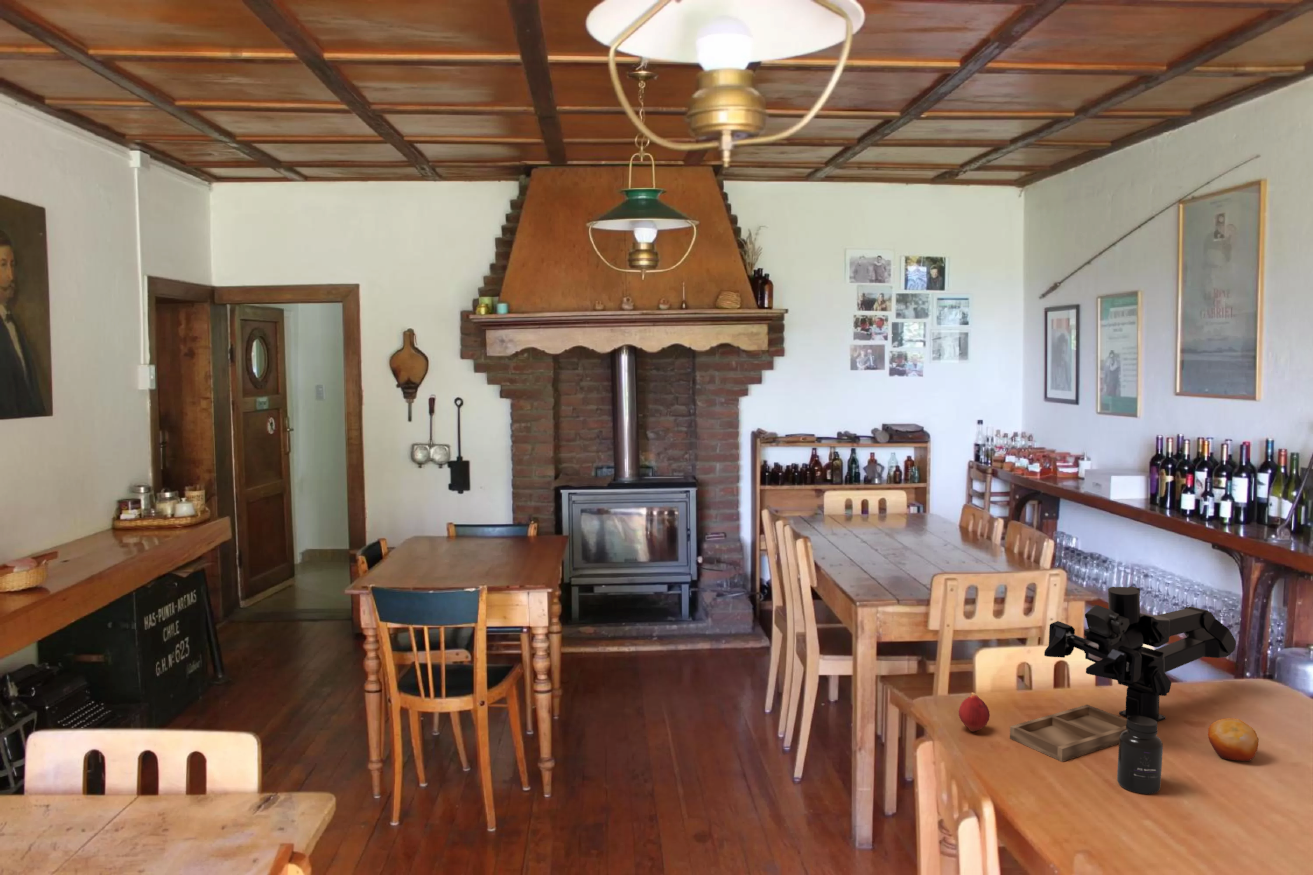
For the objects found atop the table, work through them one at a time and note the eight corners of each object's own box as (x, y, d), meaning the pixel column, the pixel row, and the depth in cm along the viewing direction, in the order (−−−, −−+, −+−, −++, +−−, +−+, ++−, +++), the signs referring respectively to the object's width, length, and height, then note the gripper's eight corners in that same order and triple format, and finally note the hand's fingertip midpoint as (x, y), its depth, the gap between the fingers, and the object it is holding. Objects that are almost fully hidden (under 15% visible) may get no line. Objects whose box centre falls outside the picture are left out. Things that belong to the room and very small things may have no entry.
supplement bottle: (1144, 798, 157) (1147, 730, 156) (1108, 782, 163) (1110, 716, 162) (1169, 789, 160) (1172, 723, 159) (1133, 773, 166) (1136, 709, 165)
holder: (1086, 715, 192) (1087, 704, 192) (1140, 736, 182) (1140, 724, 182) (1009, 738, 182) (1010, 726, 181) (1061, 761, 171) (1062, 748, 171)
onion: (984, 725, 188) (985, 687, 187) (992, 737, 182) (993, 698, 182) (955, 724, 188) (956, 687, 188) (962, 736, 183) (963, 697, 182)
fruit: (1252, 740, 176) (1257, 714, 172) (1256, 776, 170) (1262, 749, 166) (1203, 733, 180) (1207, 707, 175) (1206, 768, 174) (1211, 741, 169)
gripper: (1076, 590, 192) (1026, 607, 184) (1163, 619, 176) (1112, 640, 168) (1074, 639, 194) (1024, 659, 186) (1159, 673, 178) (1108, 695, 171)
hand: (1065, 662), depth 178 cm, fingers open, 9 cm apart
